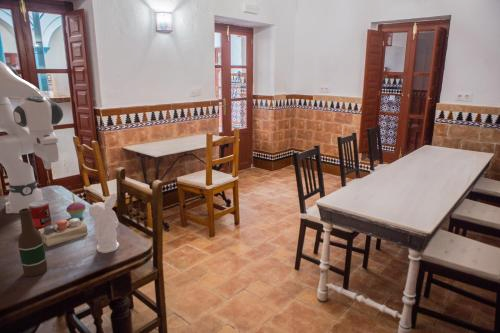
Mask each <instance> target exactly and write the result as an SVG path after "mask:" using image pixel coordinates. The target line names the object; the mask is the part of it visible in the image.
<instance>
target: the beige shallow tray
mask: <svg viewBox="0 0 500 333" xmlns="http://www.w3.org/2000/svg"><path fill="white" fill-rule="evenodd" d="M53 225H54V226H55V232H54V233H51V234H47V235H46V233H45V230H44V228H38V230H37V231H38V232H39V233H40V234H41V235H42V239H43V244H44V245H46V246H47V248H49V247H52V246H55V245H59V244H61V243H64V242H68V241H70V240H74V239H77V238H80V237H83V236H87V235H88V234H89V232H88V227H87V225H86V224H85V223H84V222H82V221H81V220H80V221H79V225H77V226H74V227H70V223H69V220H67V229H64V230H61V231H59V230H58V226H57V224H53Z"/></svg>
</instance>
